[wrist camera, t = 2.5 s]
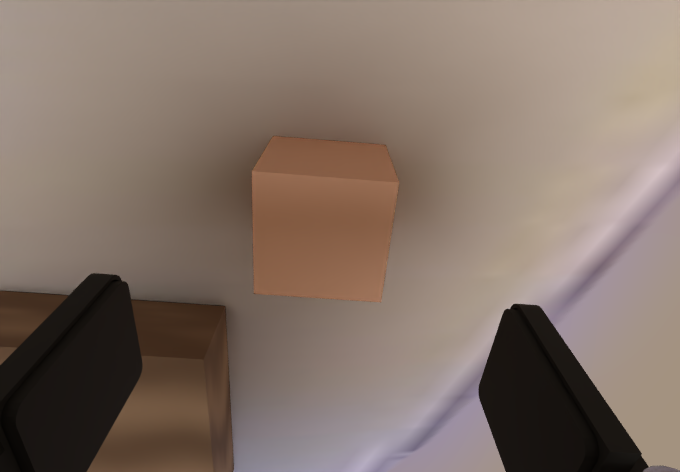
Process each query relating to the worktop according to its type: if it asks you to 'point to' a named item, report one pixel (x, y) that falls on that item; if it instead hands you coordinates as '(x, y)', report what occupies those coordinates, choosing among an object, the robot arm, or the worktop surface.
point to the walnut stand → (156, 385)
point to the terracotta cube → (322, 218)
